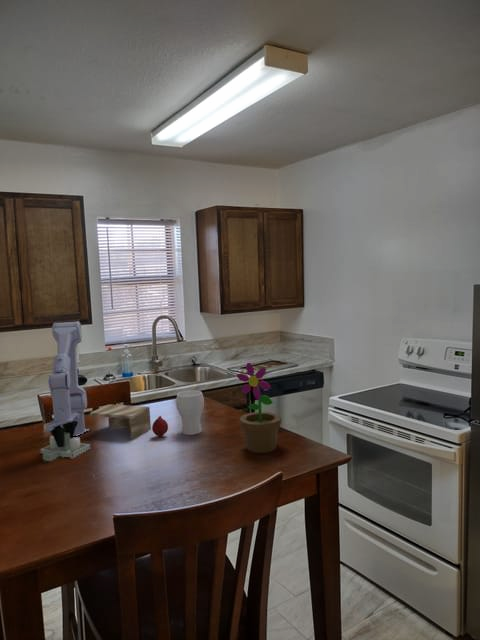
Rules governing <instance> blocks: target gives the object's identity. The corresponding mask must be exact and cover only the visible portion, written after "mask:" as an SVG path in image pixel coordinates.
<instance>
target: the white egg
mask: <svg viewBox="0 0 480 640" xmlns="http://www.w3.org/2000/svg"><path fill="white" fill-rule="evenodd" d="M69 440H70V451H71V453H73V452H75V451H77V450H79V449H81V445H80V443H81V438H80V436H78V437H73V438H71V439H69Z"/></svg>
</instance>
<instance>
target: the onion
mask: <svg viewBox="0 0 480 640" xmlns="http://www.w3.org/2000/svg"><path fill="white" fill-rule="evenodd" d="M151 426H152V427H151V431H152V432H153V434H155V436H157V437H159V438H162V437H163V436H164V435H165V434H167V432H168V430H169V425H168V422H167V421H166V420H165V419H164V418H163V417H162V415H158V417H157V418H156V419H155V420H154V422H153V423H152V425H151Z"/></svg>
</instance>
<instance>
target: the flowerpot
mask: <svg viewBox="0 0 480 640" xmlns="http://www.w3.org/2000/svg"><path fill="white" fill-rule="evenodd" d="M245 367H246V368H245V369H246V371H247V374H244V373H237V374H236V377H237V378H238V380H239V381H242V382H245V383H247V382H248V383H247V384H245V385H243V386H242V388H241V394H242V395H246V394H248V393H249V392H250V391H251V389H252V393H253V396H254V398H255V399H256V400H257V401H258V402H257V403H258V404H257V403H251V404H249V405H248V406H247V407H248V408H249V409H251V410H254V412H249V413H245V414H243V415H241V416H240V417H239V421H238V422H239V426H240V427H241V428H242V429H243V434H244V441H245V447H246V449H247V450H248V451H249V452H253V453H258V454H259V453H260V454H261V453H263V454H264V453H270V452H273V451H274V450H276V449H277V443H278V433H279V432H278V431H279V427H281V425H282V416H281V415H280V414H278V413H275V412H271V411H262V404H263V405H267V406H268V405H270V406H271V405H272V404H273V400H272V399H271V397H269V396H268V395H265V394H264V395H263V394H261V391H260V389H263V390H270V389H271V387H272V386H271V384H270V383H268V382H267V381H264V380H260V381H259V379H262V378H263V377H264V376H265V375H266V372H267V369H266V367H263V368H260V369H259V370H257V372H256V373H255V369H254V366H253V365H252V363H250V362H247V363H246V366H245ZM254 374H255V375H254ZM248 375H249V376H248ZM257 410H258V411H257ZM255 411H256V412H255Z"/></svg>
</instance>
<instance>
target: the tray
mask: <svg viewBox="0 0 480 640" xmlns="http://www.w3.org/2000/svg"><path fill="white" fill-rule="evenodd" d="M69 439H70V433H67V432H64V447H60V449H59V450H49V449H50V444H49V445H47V446H45V447H43V448H40V449H39V453H43V455H42V461H43V460H45V461H44V462H46V461H51V462H53V461H55V460H57V459H58V458H57V457H59V456H62V457H61V458H64V457H70V458H69V459H74V457H75V458H77V457H78V456H80V455H82V454H83V452H84V453H85V452H87V451H89V450H91V444H90V443H81V442H80V445H81V449H79V450H77V451H75V452H73V453H71V451H70V440H69ZM88 449H89V450H88ZM86 450H87V451H86ZM81 453H82V454H81ZM79 454H80V455H79ZM77 455H78V456H77ZM76 456H77V457H76ZM56 458H57V459H56ZM59 458H60V457H59ZM54 459H55V460H54ZM52 460H53V461H52Z"/></svg>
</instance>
